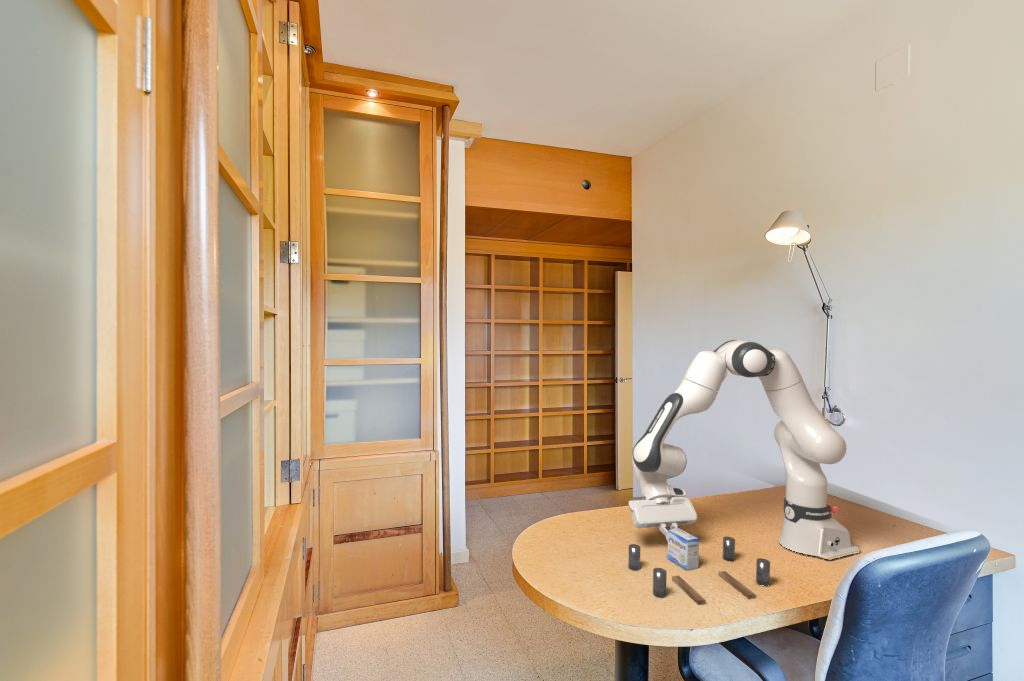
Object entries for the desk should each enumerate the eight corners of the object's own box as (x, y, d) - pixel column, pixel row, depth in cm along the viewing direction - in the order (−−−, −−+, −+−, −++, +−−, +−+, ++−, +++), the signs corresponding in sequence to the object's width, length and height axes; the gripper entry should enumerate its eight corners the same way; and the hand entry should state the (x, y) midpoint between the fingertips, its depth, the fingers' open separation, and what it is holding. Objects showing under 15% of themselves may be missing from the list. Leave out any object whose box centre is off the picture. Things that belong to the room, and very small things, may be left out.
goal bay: (724, 574, 133) (725, 571, 133) (755, 598, 121) (755, 594, 121) (671, 579, 130) (672, 576, 130) (698, 604, 118) (698, 600, 118)
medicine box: (666, 559, 142) (667, 529, 142) (678, 556, 144) (678, 527, 143) (686, 571, 135) (687, 540, 134) (698, 568, 136) (699, 537, 136)
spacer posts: (729, 556, 144) (730, 536, 144) (772, 586, 127) (773, 563, 127) (626, 565, 137) (626, 544, 137) (656, 598, 120) (657, 574, 120)
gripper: (629, 493, 149) (644, 537, 140) (689, 489, 154) (707, 532, 144) (623, 502, 154) (636, 546, 145) (681, 498, 158) (698, 541, 149)
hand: (672, 539), depth 144 cm, fingers closed
